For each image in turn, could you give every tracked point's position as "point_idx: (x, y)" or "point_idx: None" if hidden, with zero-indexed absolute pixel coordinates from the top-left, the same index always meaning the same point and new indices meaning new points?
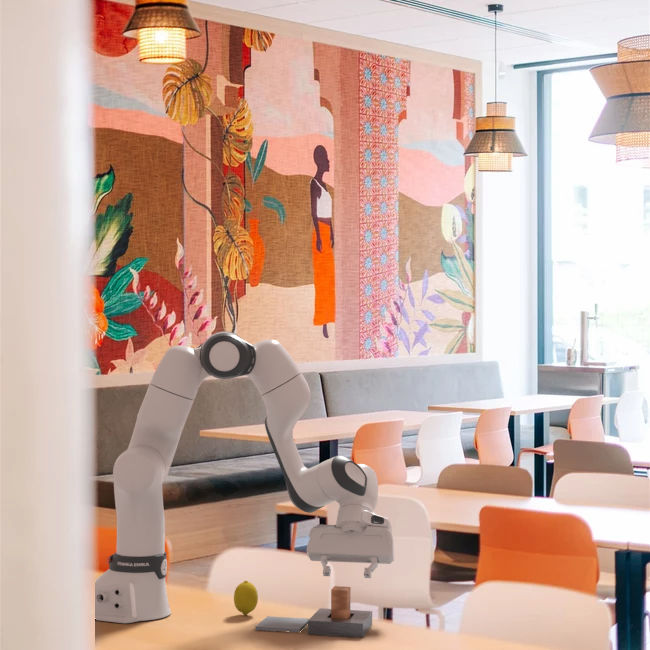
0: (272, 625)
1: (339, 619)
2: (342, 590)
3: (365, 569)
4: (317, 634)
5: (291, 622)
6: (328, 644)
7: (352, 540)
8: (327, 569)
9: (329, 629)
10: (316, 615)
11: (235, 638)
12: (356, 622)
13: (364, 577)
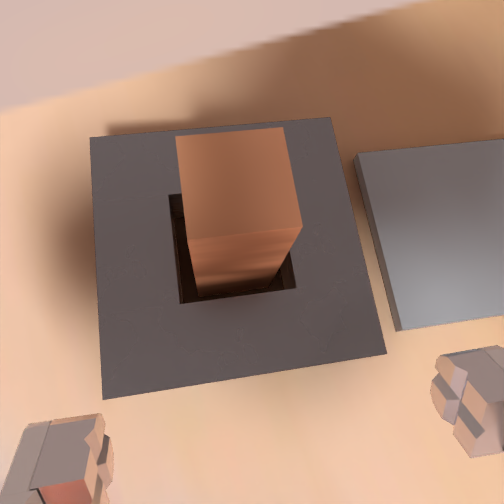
0: (474, 170)
1: None
2: (208, 134)
3: (75, 456)
4: None
5: (437, 237)
6: (200, 59)
7: None
8: (478, 368)
9: None
10: (335, 206)
11: (501, 43)
12: (122, 146)
13: (110, 442)
